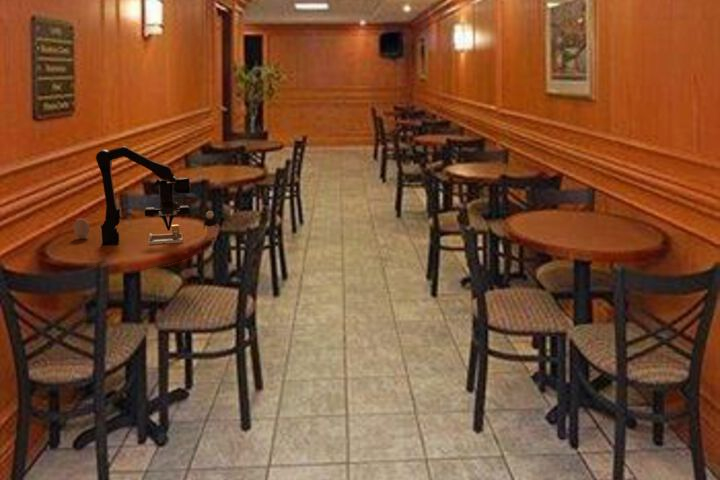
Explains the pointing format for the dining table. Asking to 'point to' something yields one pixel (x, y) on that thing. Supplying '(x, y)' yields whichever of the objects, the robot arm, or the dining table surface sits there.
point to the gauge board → (165, 238)
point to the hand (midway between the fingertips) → (168, 230)
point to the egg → (81, 228)
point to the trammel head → (175, 230)
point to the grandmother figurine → (210, 226)
